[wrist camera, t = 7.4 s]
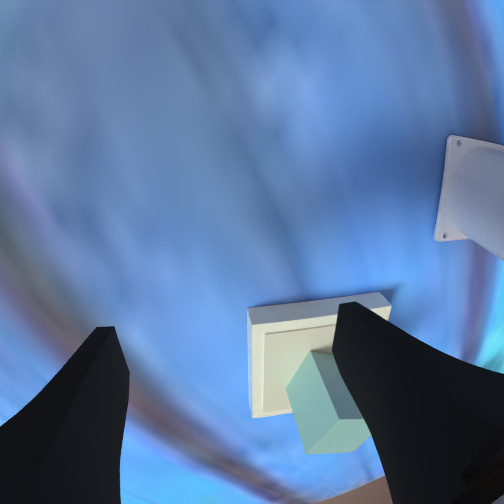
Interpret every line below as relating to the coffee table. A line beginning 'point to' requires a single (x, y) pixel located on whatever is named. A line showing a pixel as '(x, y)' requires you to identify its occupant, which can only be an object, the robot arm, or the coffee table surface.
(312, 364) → the block
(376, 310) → the tray
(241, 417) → the coffee table surface
